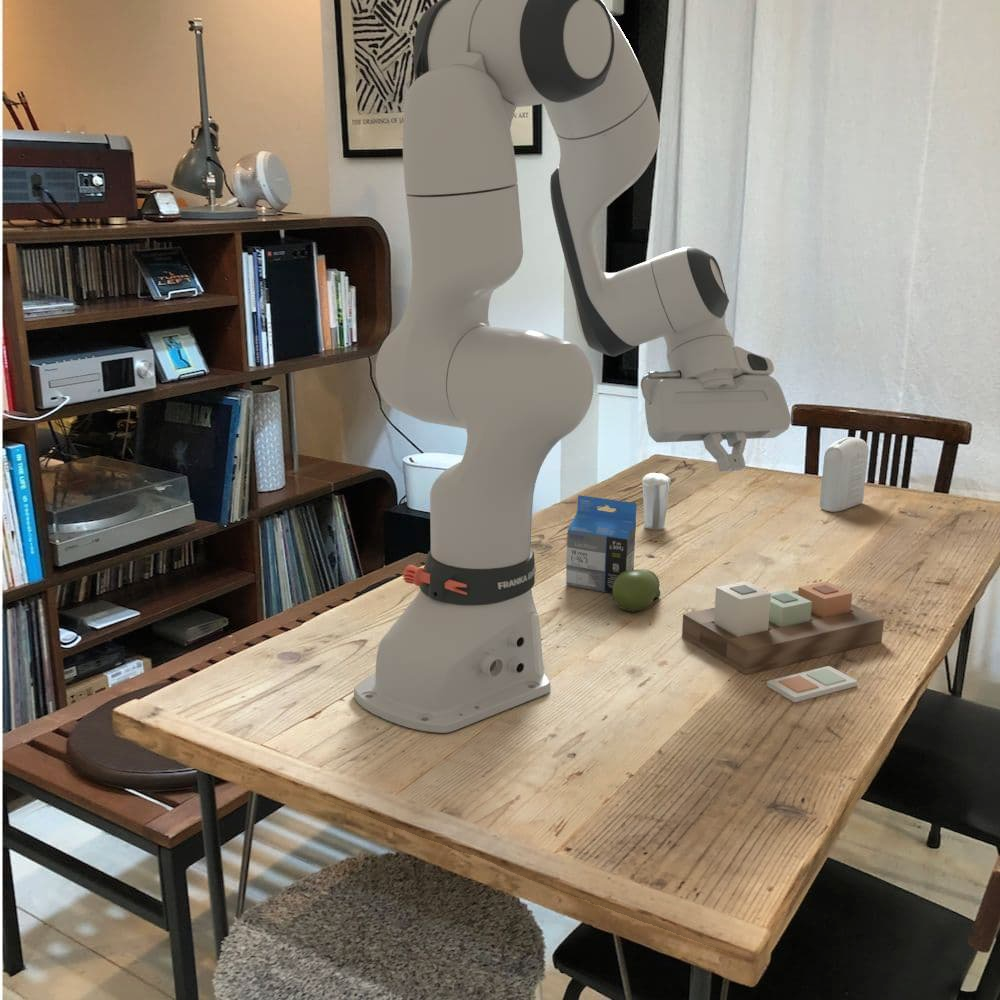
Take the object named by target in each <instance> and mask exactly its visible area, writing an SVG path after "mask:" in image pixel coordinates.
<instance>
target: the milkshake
mask: <svg viewBox="0 0 1000 1000" xmlns="http://www.w3.org/2000/svg"><path fill="white" fill-rule="evenodd" d="M674 473H675V471H673V472H672V473H671V475H670V477H669V476H667V475H665V474H663V473H660V472H659V473H656V472H650V473H648V474H645V476H643V478H642V482H641V483H642V498H643V499H642V501H643V526H644V527H643V528H645V529H646V530H651V531H660V530H663V529H664V528H665V525H666V524H665V523H666V515H667V507H668V500H669V493H670V486H671V479H672V478H673V476H674Z"/></svg>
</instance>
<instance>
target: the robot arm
mask: <svg viewBox="0 0 1000 1000" xmlns="http://www.w3.org/2000/svg"><path fill="white" fill-rule="evenodd" d="M414 34H415V35H414V39H413V50H412V60H413V67H414V69H413V71H414V72H413V73H414V77H415V80H414V81H413V82H412V83H411V85H410V86H409V88H408V89H407V91H406V94H405V97H404V107H403V120H402V122H403V123H402V163H403V165H402V166H403V167H402V168H403V180H404V189H405V190H404V191H405V199H406V206H407V207H406V208H407V216H408V217H407V218H408V226H409V227H408V228H409V237H410V248H411V249H410V250H411V265H412V269H411V270H412V272H411V273H412V274H411V285H410V290H409V295H408V301H407V304H406V307H405V311H404V314H403V316H402V318H401V320H400V322H399V324H398V325H397V326H396V328H394V329H393V330H392V331H391V332H390V334H388V335H387V337H386V338H385V339H384V341H383V342H382V345H381V347H380V348H379V350H378V354H377V357H376V360H375V361H376V362H375V380H376V385H377V388H378V391H379V393H380V396H381V398H382V399H383V400H384V402H385V403H386V404H387V405H388V406H390V407H392V409H395V410H397V411H398V412H401V413H403V414H405V415H408V416H409V417H411V418H414V419H417V420H419V421H421V422H425V423H429V424H436V425H442V426H446V427H447V426H448V427H451V428H452V427H453V428H459V429H465V430H466V435H467V438H466V446H465V450H464V453H463V456H462V459H461V461H460V462H458V463H455V464H454V465H452V466H450V467H449V468H447V469H445V470H444V471H443V472H442V473H440V475H438V477H437V478H436V479H435V480H434V482H433V483H432V486H431V489H430V492H429V503H430V504H429V508H430V509H429V510H430V513H429V514H430V515H429V516H430V517H429V518H430V519H429V521H430V523H429V524H430V550H429V551H428V552H427V555H426V559H425V562H424V567H418V566H416V565H413V564H408V565H407V566H405V568H404V570H403V571H402V574H403V575H402V579H403V581H404V583H406V584H411V585H412V584H414V585H415V586H416V587H419V589H420V590H419V591H418V593H417V594H416V596H415V597H414V598H413V600H412V601H411V602H410V603H409V604H408V605H407V606H406V608H405V610H404V611H403V612H402V613H401V615H400V616H399V618H398V619H397V620H396V621H395V622H394V624H393V625H392V626H391V627H390V629H388V631H387V632H386V634H385V635H384V636H383V637H382V639H381V640H380V642H379V645H378V648H377V652H376V653H377V654H376V659H375V660H376V661H375V671H374V672H373V673H372V674H370V675H369V676H367V677H366V678H364V679H363V680H362V681H360V682H359V683H358V684H357V685H355V686H354V687H353V697H354V699H355V701H356V702H357V704H359V705H360V706H361V707H362V708H364V709H365V710H366V711H368V712H369V713H371V714H373V715H374V716H377V717H380V718H381V719H384V720H385V721H388V722H391V723H394V724H396V725H398V726H403V727H405V728H410V729H413V730H415V731H416V730H418V731H423V732H430V733H445V734H447V733H450V732H454V731H457V730H460V729H461V728H464V727H466V726H469V725H471V724H475V723H478V722H479V721H482V720H484V719H487V718H489V717H492V716H494V715H497V714H500V713H502V712H505V711H507V710H509V709H511V708H512V709H513V708H515V707H517V706H520V705H522V704H525V703H526V702H529V701H532V700H534V699H537V698H539V697H542V696H544V695H547V694H549V693H550V691H551V690H552V689H551V681H550V678H549V677H548V675H547V674H545V667H544V659H543V647H542V646H543V645H542V635H541V626H540V625H541V623H540V617H539V614H538V612H537V611H538V610H537V609H536V605H535V602H534V598H533V593H532V592H533V591H532V588H533V587H534V585H535V581H536V580H535V579H536V577H535V575H536V570H537V569H536V567H537V566H536V564H535V562H536V561H535V552H534V551H533V549H531V548H532V547H531V546H532V522H533V506H534V496H535V489H536V487H535V486H536V482H537V479H538V476H539V473H540V471H541V468H542V466H543V464H544V461H545V459H546V458H547V456H548V455H549V453H550V452H551V451H552V449H553V448H554V447H555V446H556V445H557V444H558V442H560V441H562V440H563V438H565V437H566V436H568V435H569V434H571V433H572V432H573V431H574V430H575V429H576V428H577V427H579V425H580V424H581V423H582V421H583V420H584V418H585V417H586V416H587V414H588V412H589V409H590V406H591V405H592V400H593V396H594V375H593V370H592V367H591V364H590V362H589V360H588V358H587V356H586V354H585V352H584V351H583V350H582V348H581V347H579V346H578V345H577V344H575V343H573V342H570V341H568V340H565V339H562V338H560V337H557V336H555V335H550V334H548V333H544V332H541V331H538V330H530V329H518V328H508V327H507V328H506V327H496V326H491V325H490V321H489V307H490V303H491V298H492V294H493V293H494V291H495V290H497V289H498V288H500V287H501V286H503V285H505V284H506V283H507V282H508V281H509V280H511V279H512V277H514V275H515V274H516V273H517V271H518V270H519V267H521V264H522V261H523V256H524V246H523V235H522V222H521V221H522V220H521V209H520V198H519V197H520V196H519V184H518V172H517V164H516V163H517V161H516V155H515V149H514V143H513V138H512V133H511V132H512V131H511V127H512V122H513V118H514V113H515V112H516V108H521V107H522V108H523V107H530V106H537V105H538V106H539V105H544V108H545V111H546V113H547V117H548V119H549V121H550V123H551V125H552V127H553V131H554V132H555V135H556V138H557V141H558V144H559V149H560V150H559V152H560V158H559V163H558V166H557V167H556V169H555V170H554V171H553V172H552V174H551V175H550V181H549V182H550V185H549V186H550V189H549V190H550V199H551V204H552V206H551V207H552V212H553V215H554V220H555V224H556V229H557V234H558V237H559V242H560V245H561V249H562V253H563V258H564V260H565V265H566V268H567V271H568V272H567V273H568V275H569V279H570V285H571V287H572V291H573V295H574V299H575V310H576V312H575V313H576V318H577V324H578V328H579V330H580V333H581V336H582V337H583V339H584V340H585V343H586V344H587V346H588V347H589V348H590V349H592V350H594V351H596V352H598V353H601V354H604V355H606V356H610V357H614V358H615V357H617V356H619V355H622V354H624V353H626V352H628V351H630V350H633V349H635V348H637V347H639V345H642V344H646V343H648V342H651V341H654V340H658V339H660V338H663V339H664V341H665V344H666V359H667V363H668V367H669V370H667V371H657V370H654V371H653V370H652V371H649V372H647V374H645V375H644V376H643V377H642V378H641V381H640V390H641V394H642V397H643V399H644V412H645V418H646V419H645V420H646V421H645V422H646V426H647V431H648V435H649V437H650V438H651V439H652V440H653V441H654V442H655V443H676V442H677V443H681V442H702V441H703V445H704V449H705V450H706V451H707V452H708V453H709V454H710V455H711V457H712V458H713V459H714V460H716V463H717V467H718V471H719V472H730V471H731V472H733V471H741V470H743V469H744V468H745V467H746V461H745V458H744V451H745V448H746V444H747V440H750V439H754V440H755V439H774V438H777V437H778V436H780V435H782V434H783V433H784V432H786V431H787V430H788V429H789V427H790V425H791V422H792V418H791V413H790V411H789V410H790V409H789V407H788V404H787V400H786V397H785V395H784V392H783V389H782V387H781V385H780V383H779V382H778V380H776V379H775V377H772V376H771V375H772V373H774V371H775V367H774V362H772V360H771V359H770V358H768V357H766V356H764V355H760V354H757V353H754V352H752V351H749V350H747V349H744V348H742V347H740V346H737V345H735V342H734V339H733V336H732V334H731V333H730V331H729V330H728V327H727V325H726V311H727V308H728V306H729V302H730V300H729V297H728V294H727V291H726V287H725V283H724V280H723V279H724V278H723V276H722V272H721V268H720V265H719V263H718V261H717V260H716V258H715V257H714V256H713V255H711V254H709V253H708V252H705V251H704V250H702V249H700V248H697V247H696V246H690V245H689V246H685V247H680V248H677V249H674V250H670V251H668V252H666V253H662V254H660V255H657V256H655V257H652V258H651V259H649V260H646V261H643V262H640V263H638V264H634V265H633V266H630V267H627V268H625V269H622V270H619V271H617V272H616V271H615V272H605V271H603V270H602V266H601V261H600V257H599V253H598V249H597V244H596V241H595V236H594V232H593V227H594V224H595V223H596V221H597V219H598V218H599V216H601V215H602V213H603V212H604V211H605V210H606V209H607V208H608V206H610V205H611V204H612V203H613V202H614V201H615V200H616V199H617V198H619V197H620V196H621V195H622V194H623V193H624V192H625V191H627V190H628V189H629V188H630V187H632V186H633V185H634V184H635V183H636V182H637V181H638V180H639V178H641V176H643V174H644V173H645V171H646V170H647V168H648V167H649V166H650V164H651V162H652V160H653V158H654V156H655V154H656V152H657V149H658V145H659V141H660V137H661V128H660V126H661V125H660V121H659V118H658V112H657V109H656V105H655V104H656V103H655V101H654V99H653V95H652V93H651V89H650V87H649V84H648V81H647V80H646V77H645V74H644V72H643V69H642V67H641V65H640V63H639V61H638V58H637V56H636V54H635V53H634V50H633V48H632V47H631V44H630V43H629V40H628V39H627V38H626V36H625V34H624V32H623V31H622V29H621V27H620V25H619V24H618V22H617V21H616V19H615V17H613V15H612V14H611V12H610V11H609V10H608V8H607V6H606V4H605V2H603V0H439V1H437V2H435V3H434V4H432V5H431V6H430V7H429V8H428V9H426V10H425V12H424V13H423V14H422V16H420V20H419V21H418V24H417V27H416V30H415V33H414ZM723 440H724V441H725V440H726V441H727V444H728V447H729V448H731V447H732V449H731V453H728V451H726V449H725V448H724V446H723V445H722V442H723Z"/></svg>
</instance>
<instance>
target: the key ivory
mask: <svg viewBox="0 0 1000 1000" xmlns="http://www.w3.org/2000/svg"><path fill="white" fill-rule="evenodd" d="M771 593H772V592H769V591H768V590H765V589H763V588H761V587H759V586H756V585H755V584H753V583H750V582H749V581H740V582H735V583H729V584H726V585H721V586H720V585H719V586H716V587H715V599H714V608H715V611H714V624H715V625H717V626H719V627H720V628H722V629H724V630H726V631H728V632H729V633H731V634H733V635H735V636H736V637H740V636H745V635H749V634H754V633H758V632H763V631H767V630H768V625H769V613H770V601H771Z"/></svg>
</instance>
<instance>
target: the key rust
mask: <svg viewBox="0 0 1000 1000" xmlns="http://www.w3.org/2000/svg"><path fill="white" fill-rule="evenodd" d="M797 591H798V595H799V596H801V597H803V598H805V599H807V600H810V601H812V607H811V613H813V614H815V615H817V616H819V617H821V618H826V617H830V616H835V615H839V614H844V613H848V612H850V611H851V604H852V599H853V592H851V591H849V590H848V589H847V590H846V589H844V588H842V587H840V586H837V585H835V584H832V583H830V582H828V581H822V582H817V583H813V584H807V585H802V586H801V585H800V586H798V589H797Z"/></svg>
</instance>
